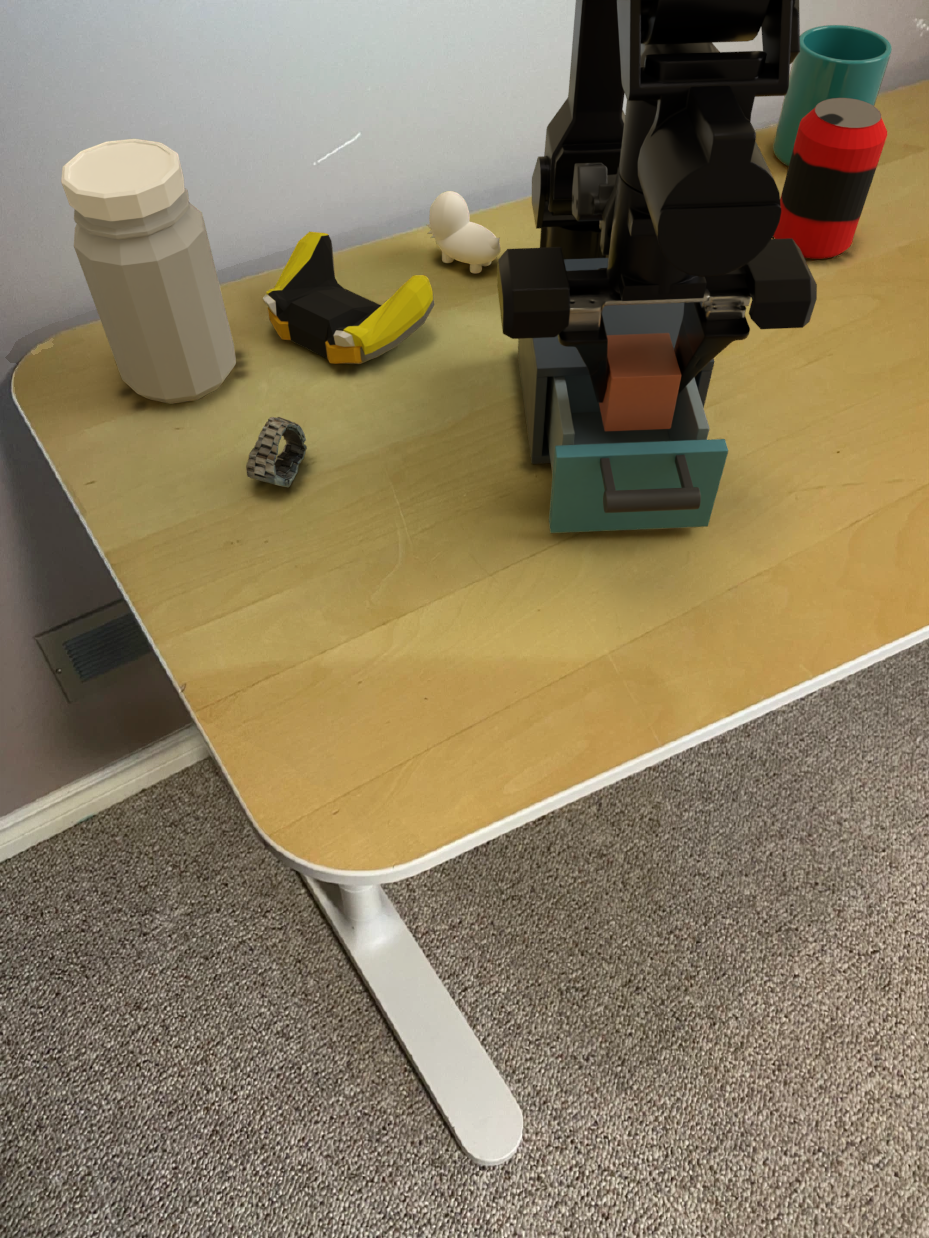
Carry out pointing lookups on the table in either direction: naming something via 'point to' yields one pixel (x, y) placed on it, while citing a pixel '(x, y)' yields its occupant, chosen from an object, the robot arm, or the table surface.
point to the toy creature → (461, 233)
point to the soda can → (830, 176)
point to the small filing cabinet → (559, 360)
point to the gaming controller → (341, 308)
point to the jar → (149, 269)
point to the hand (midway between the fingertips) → (634, 397)
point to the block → (640, 382)
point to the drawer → (628, 464)
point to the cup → (830, 75)
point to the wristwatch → (266, 450)
